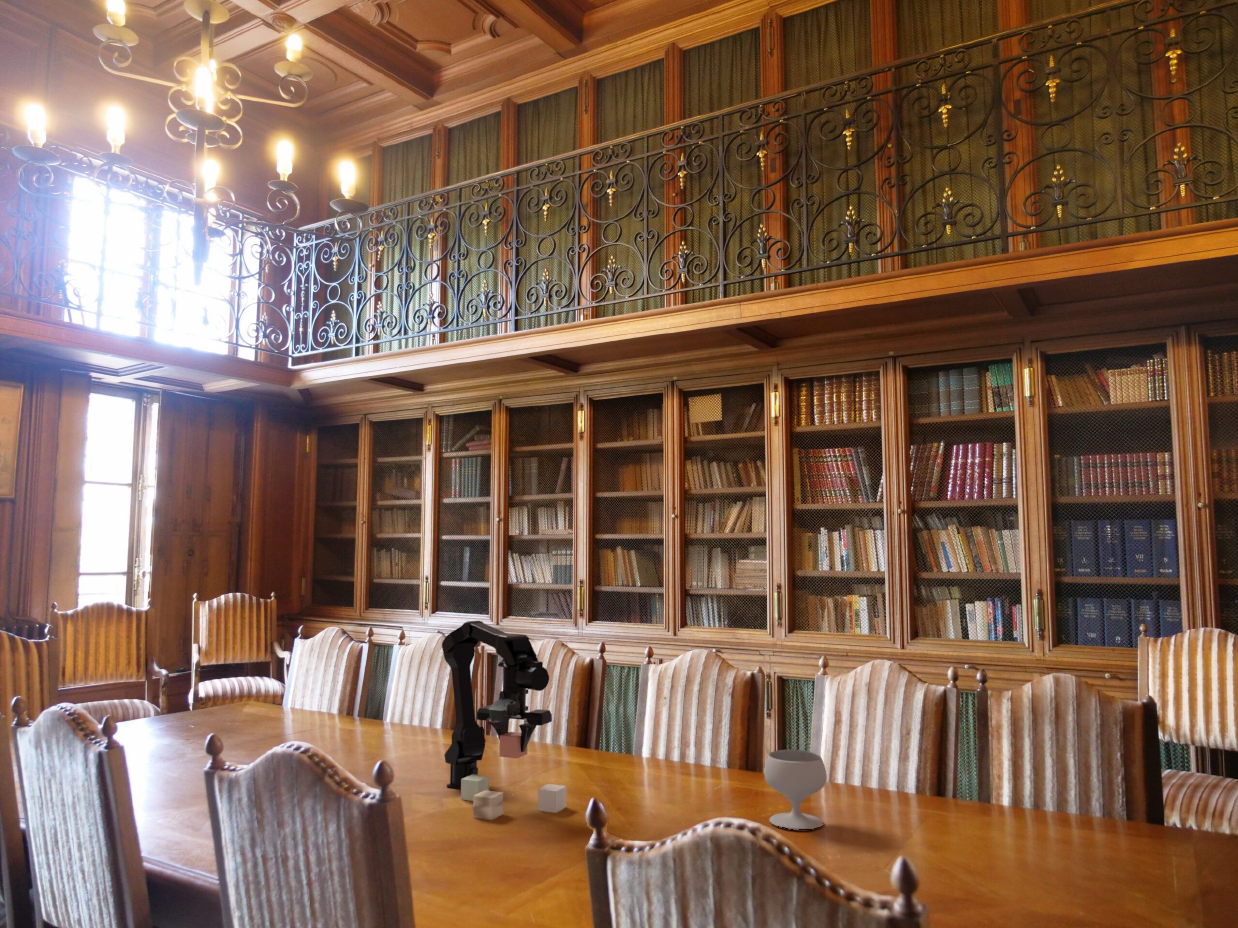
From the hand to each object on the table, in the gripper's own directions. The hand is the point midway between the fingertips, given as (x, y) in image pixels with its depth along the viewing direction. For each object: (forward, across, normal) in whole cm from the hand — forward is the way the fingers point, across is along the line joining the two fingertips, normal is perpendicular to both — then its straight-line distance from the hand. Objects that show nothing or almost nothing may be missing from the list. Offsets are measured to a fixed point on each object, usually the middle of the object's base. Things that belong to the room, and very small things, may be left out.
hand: (513, 750), depth 207 cm
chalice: (+13, +67, +13) cm, 69 cm away
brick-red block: (+1, 0, 0) cm, 1 cm away
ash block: (+13, 0, -11) cm, 17 cm away
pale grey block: (+13, +11, 0) cm, 17 cm away
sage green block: (+12, -11, 0) cm, 17 cm away
